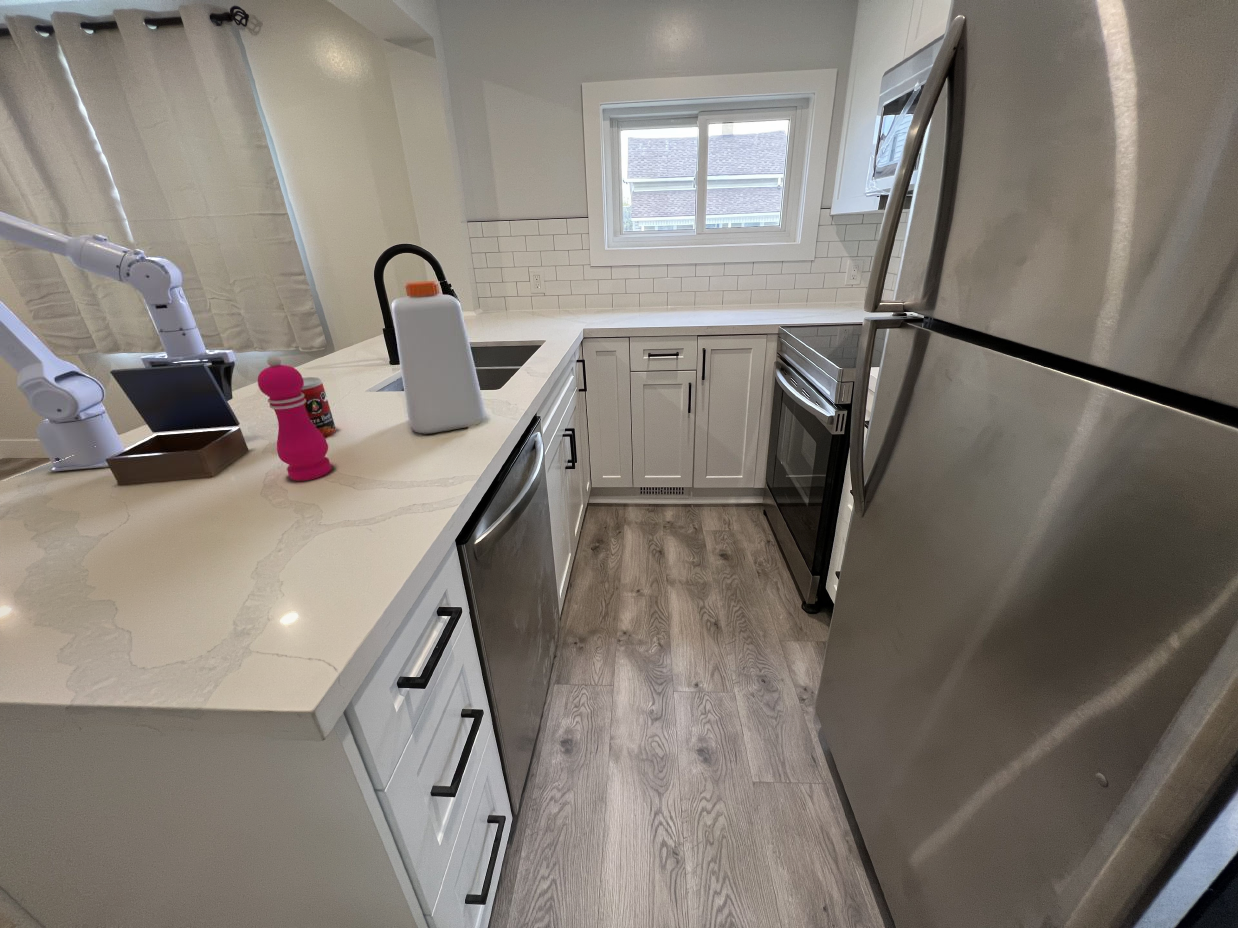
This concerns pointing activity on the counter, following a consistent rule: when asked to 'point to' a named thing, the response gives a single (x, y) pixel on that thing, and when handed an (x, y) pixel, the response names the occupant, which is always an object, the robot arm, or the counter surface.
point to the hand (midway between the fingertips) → (206, 401)
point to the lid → (176, 397)
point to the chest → (178, 456)
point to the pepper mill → (294, 422)
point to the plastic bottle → (436, 361)
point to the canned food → (318, 406)
